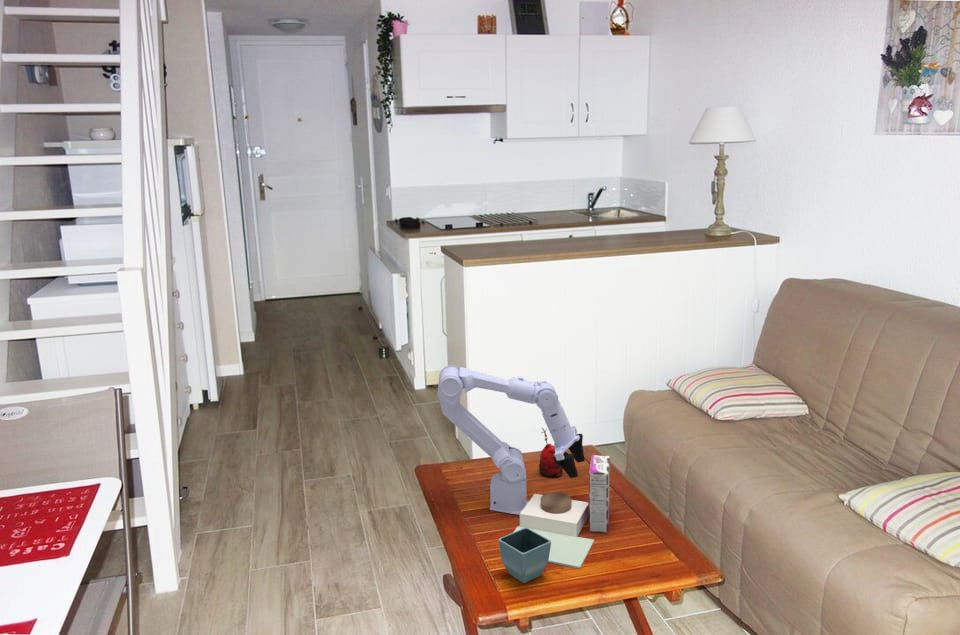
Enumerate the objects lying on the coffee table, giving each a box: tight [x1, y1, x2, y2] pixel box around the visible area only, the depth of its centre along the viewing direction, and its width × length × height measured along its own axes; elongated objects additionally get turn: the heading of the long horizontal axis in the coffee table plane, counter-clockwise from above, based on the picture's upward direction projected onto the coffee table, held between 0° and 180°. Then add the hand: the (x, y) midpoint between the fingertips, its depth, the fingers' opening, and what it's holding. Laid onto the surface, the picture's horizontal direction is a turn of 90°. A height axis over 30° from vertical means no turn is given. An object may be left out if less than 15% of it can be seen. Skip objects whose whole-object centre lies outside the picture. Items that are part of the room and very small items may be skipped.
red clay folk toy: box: [538, 427, 564, 478], centre depth 221 cm, size 8×7×15 cm
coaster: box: [541, 491, 572, 514], centre depth 193 cm, size 8×8×2 cm
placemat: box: [513, 525, 595, 570], centre depth 181 cm, size 20×13×1 cm, turn 67°
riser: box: [519, 493, 589, 537], centre depth 193 cm, size 15×12×4 cm
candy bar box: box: [588, 454, 611, 534], centre depth 191 cm, size 11×5×16 cm, turn 168°
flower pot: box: [498, 527, 551, 584], centre depth 169 cm, size 9×9×9 cm
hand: (577, 469), depth 200 cm, fingers open, 7 cm apart
